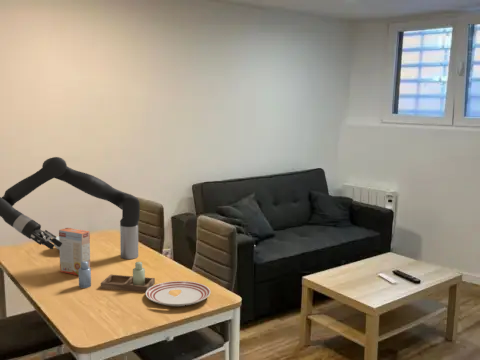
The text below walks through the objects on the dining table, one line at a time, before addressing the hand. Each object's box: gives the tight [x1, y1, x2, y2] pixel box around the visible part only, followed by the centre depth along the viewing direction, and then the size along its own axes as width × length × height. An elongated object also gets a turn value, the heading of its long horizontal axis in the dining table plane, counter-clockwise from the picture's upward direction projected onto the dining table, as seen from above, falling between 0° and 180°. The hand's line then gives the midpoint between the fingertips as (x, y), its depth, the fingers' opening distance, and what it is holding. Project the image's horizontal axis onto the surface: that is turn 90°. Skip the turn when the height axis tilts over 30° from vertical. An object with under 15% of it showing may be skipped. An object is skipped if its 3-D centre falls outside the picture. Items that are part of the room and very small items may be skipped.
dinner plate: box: [145, 280, 212, 307], centre depth 216 cm, size 27×27×3 cm
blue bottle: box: [78, 261, 92, 289], centre depth 225 cm, size 5×5×11 cm
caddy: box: [100, 274, 156, 293], centre depth 226 cm, size 11×21×3 cm, turn 81°
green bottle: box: [132, 261, 146, 286], centre depth 225 cm, size 5×5×11 cm
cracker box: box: [58, 227, 91, 277], centre depth 241 cm, size 14×6×21 cm, turn 65°
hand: (57, 246), depth 224 cm, fingers open, 8 cm apart
